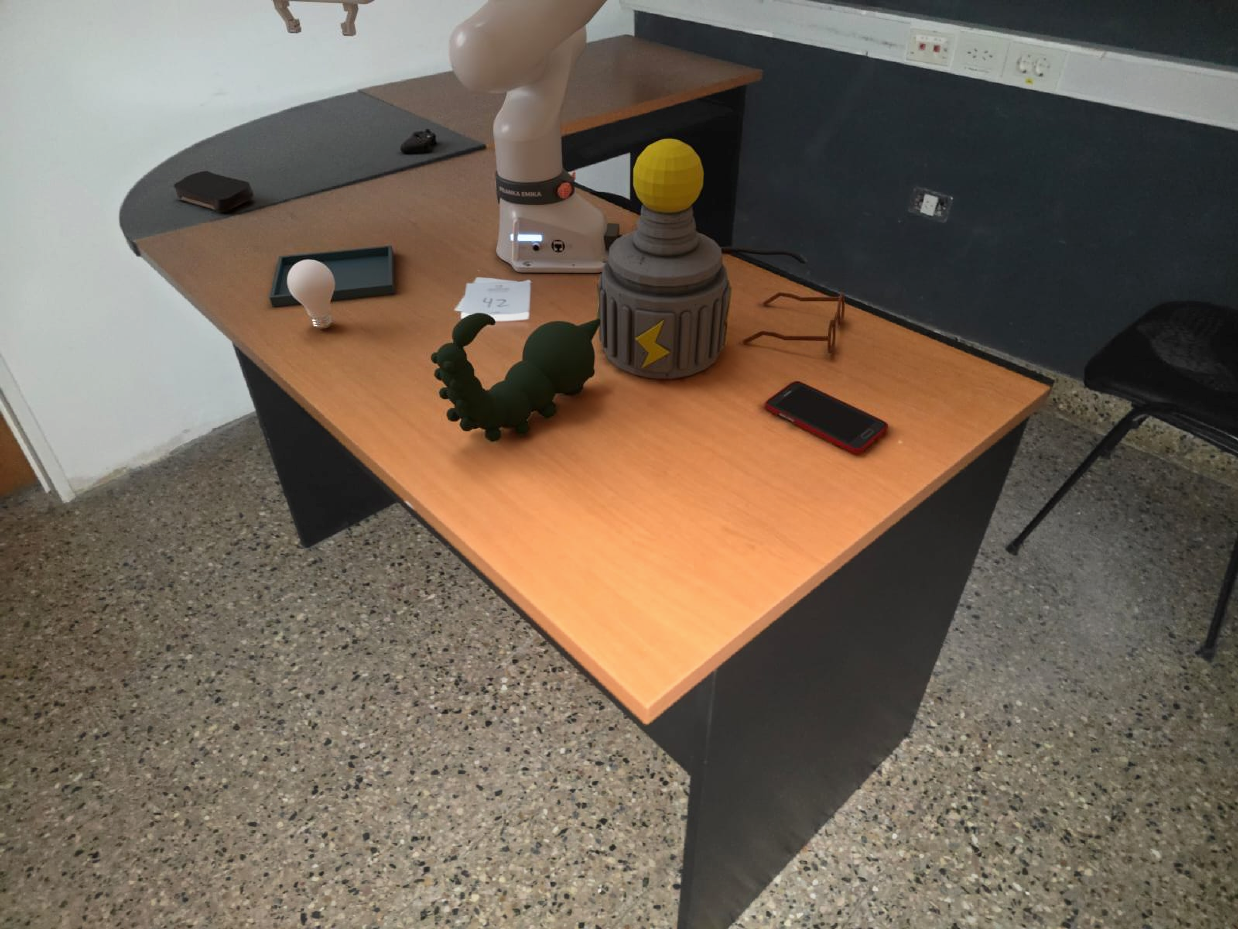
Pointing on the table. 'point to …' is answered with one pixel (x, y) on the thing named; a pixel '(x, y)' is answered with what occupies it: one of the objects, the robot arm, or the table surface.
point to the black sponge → (213, 191)
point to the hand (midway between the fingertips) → (322, 33)
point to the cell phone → (827, 417)
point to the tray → (342, 273)
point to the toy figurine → (515, 375)
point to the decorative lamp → (664, 275)
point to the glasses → (808, 338)
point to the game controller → (419, 142)
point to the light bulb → (313, 290)
